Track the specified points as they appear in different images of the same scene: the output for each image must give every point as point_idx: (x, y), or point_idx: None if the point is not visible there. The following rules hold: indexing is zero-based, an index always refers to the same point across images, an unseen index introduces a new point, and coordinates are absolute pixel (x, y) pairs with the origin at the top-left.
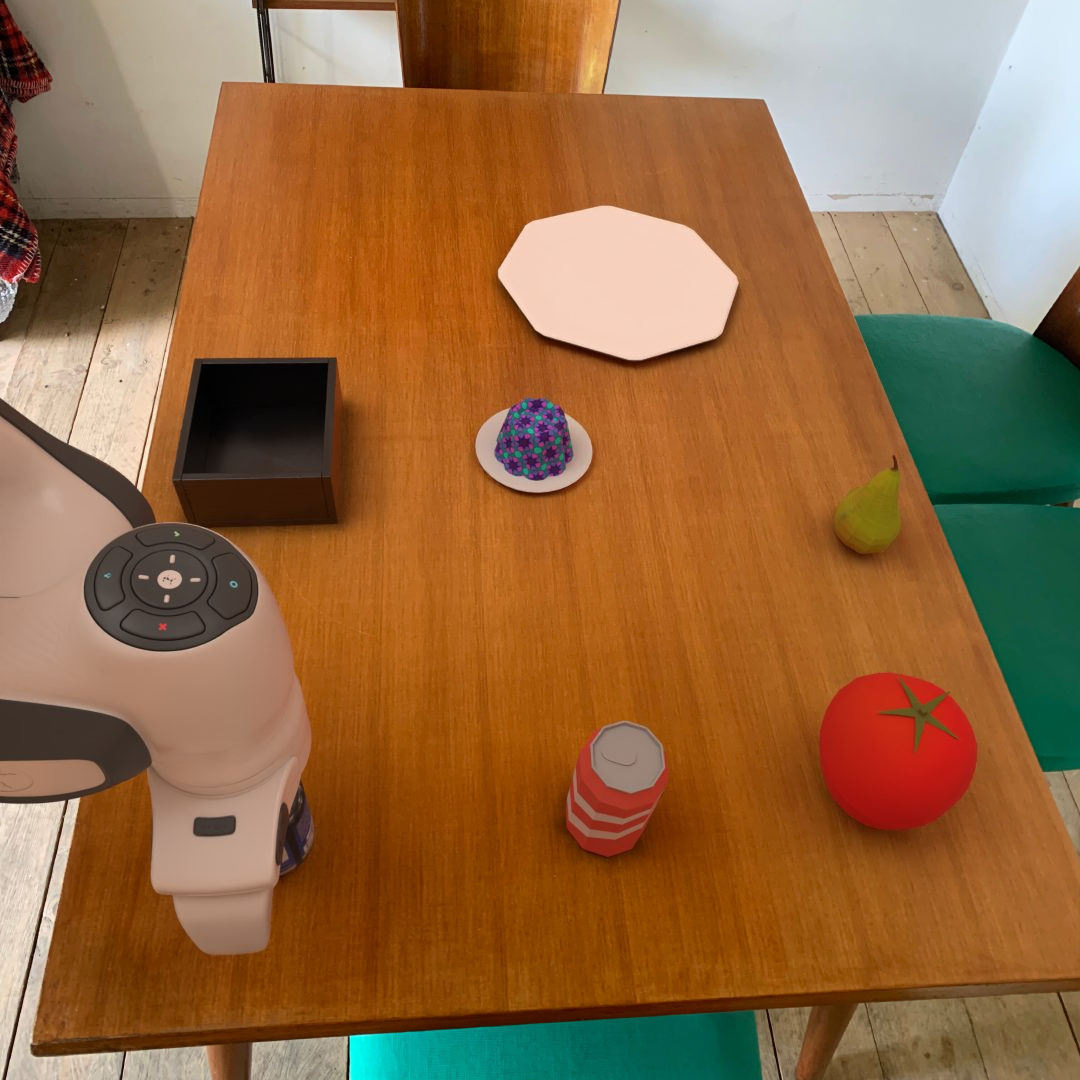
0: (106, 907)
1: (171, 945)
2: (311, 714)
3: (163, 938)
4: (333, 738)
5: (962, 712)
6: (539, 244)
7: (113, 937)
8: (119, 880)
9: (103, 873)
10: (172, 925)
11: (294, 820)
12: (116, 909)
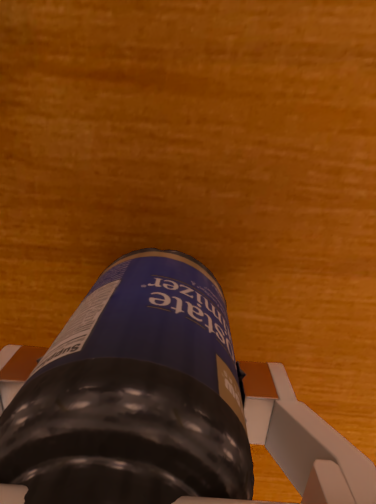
0: (77, 19)
1: (19, 147)
2: (360, 337)
3: (29, 133)
4: (311, 362)
5: None
6: None
7: (26, 41)
8: (125, 39)
9: (140, 2)
10: (49, 146)
11: None
12: (74, 40)
